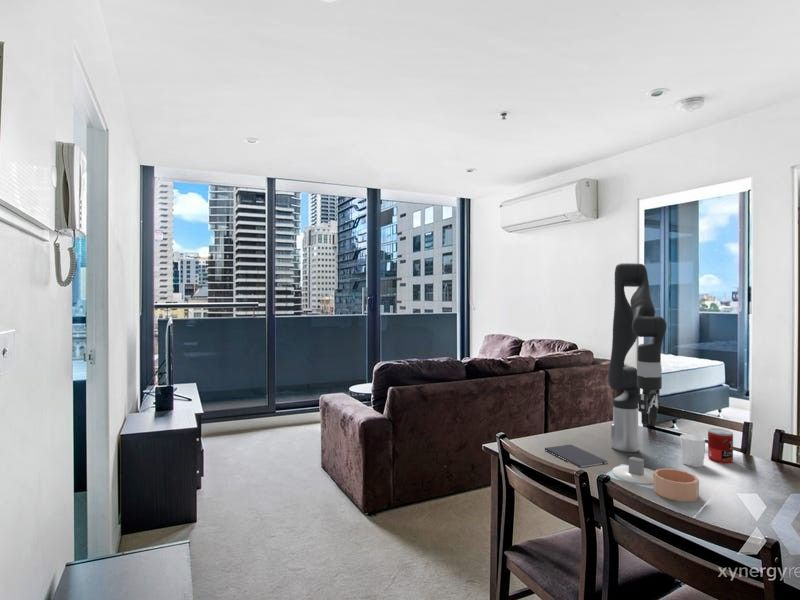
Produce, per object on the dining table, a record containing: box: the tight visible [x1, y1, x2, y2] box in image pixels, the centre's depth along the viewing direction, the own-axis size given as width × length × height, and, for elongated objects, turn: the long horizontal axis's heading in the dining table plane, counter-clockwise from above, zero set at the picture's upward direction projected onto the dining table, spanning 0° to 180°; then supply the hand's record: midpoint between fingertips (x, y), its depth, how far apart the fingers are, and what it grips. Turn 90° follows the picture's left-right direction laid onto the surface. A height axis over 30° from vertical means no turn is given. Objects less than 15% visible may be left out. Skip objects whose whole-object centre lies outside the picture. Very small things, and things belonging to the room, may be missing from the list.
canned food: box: [707, 427, 734, 464], centre depth 179 cm, size 8×8×11 cm
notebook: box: [544, 444, 608, 468], centre depth 184 cm, size 13×2×21 cm
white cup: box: [680, 433, 706, 468], centre depth 175 cm, size 8×8×10 cm
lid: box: [612, 456, 655, 484], centre depth 163 cm, size 15×15×6 cm
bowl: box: [653, 467, 700, 502], centre depth 149 cm, size 12×12×6 cm
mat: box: [605, 463, 654, 490], centre depth 163 cm, size 16×16×1 cm
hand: (649, 421), depth 163 cm, fingers open, 8 cm apart
